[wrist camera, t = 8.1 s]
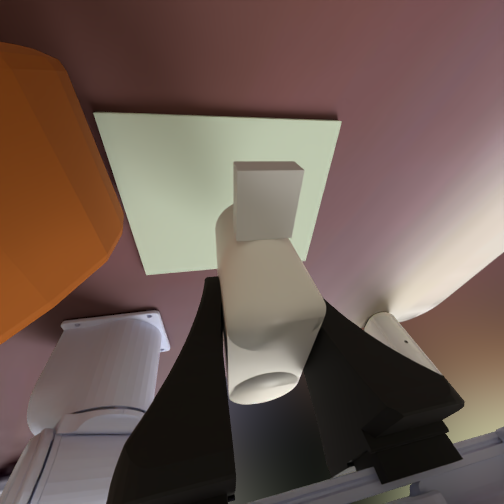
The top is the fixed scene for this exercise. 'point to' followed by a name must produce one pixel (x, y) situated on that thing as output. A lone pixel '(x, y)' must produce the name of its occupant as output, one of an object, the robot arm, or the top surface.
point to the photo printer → (397, 338)
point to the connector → (264, 283)
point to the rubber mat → (205, 177)
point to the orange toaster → (47, 190)
